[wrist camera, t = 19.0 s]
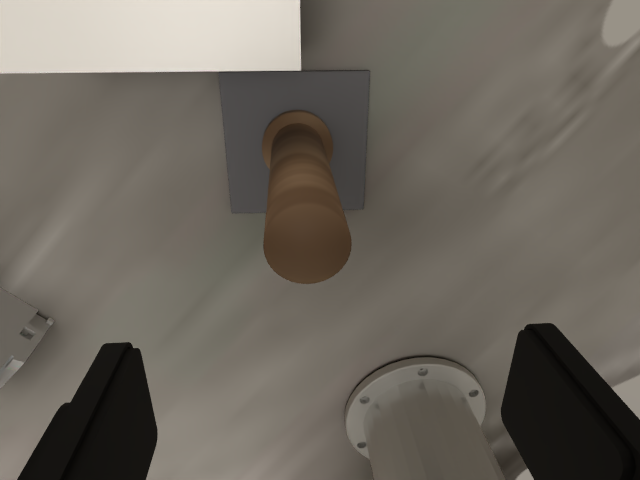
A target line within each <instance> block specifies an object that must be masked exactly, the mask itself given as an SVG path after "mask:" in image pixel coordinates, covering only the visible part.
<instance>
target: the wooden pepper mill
mask: <svg viewBox="0 0 640 480" xmlns="http://www.w3.org/2000/svg"><path fill="white" fill-rule="evenodd" d="M332 154H333V142H332V138H331V135H330V132H329V130H328V128H327V126H326V125H325V123H324V122H323V121H322V120H321V119H320V118H319V117H318V116H316V115H315V114H313V113H311V112H308V111H304V110H290V111H286V112H283V113H281V114H279V115H278V116H276V117H275V118H274V119H273V120H272V121H271V122H270V123H269V124H268V126H267V128H266V130H265V132H264V136H263V141H262V155H263V158H264V161H265V163H266V165H267V167H268V168H269V169H270V173H269V185H268V197H267V209H266V220H265V232H264V254H265V257H266V260H267V262H268V264H269V265H270V267H271V268H272V269H273V270H274V271H275V272H276V273H277V274H278V275H280V276H281V277H283V278H285V279H287V280H289V281H292V282H295V283H301V284H311V283H317V282H321V281H324V280H326V279H329V278H330V277H332V276H334V275H335V274H336V273H338V272H339V271H340V270H341V269H342V268H343V266H344V265H345V263H346V262H347V260H348V258H349V255H350V252H351V236H350V232H349V229H348V225H347V222H346V219H345V215H344V212H343V209H342V205H341V202H340V199H339V195H338V192H337V188H336V185H335V182H334V178H333V175H332V172H331V168H330V165H329V163H330V161H331V158H332Z"/></svg>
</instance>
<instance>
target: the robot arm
mask: <svg viewBox="0 0 640 480" xmlns="http://www.w3.org/2000/svg"><path fill="white" fill-rule="evenodd" d="M485 413H486V400H485V395H484V393H483V391H482V388H481V386H480V384H479V383H478V381H477V380H476V378H475V377H474V375H473V374H471V373H470V372H469V371H468V370H467V369H466V368H464V367H462V366H461V365H459V364H457V363H455V362H451V361H448V360H445V359H439V358H432V357H424V358H412V359H406V360H402V361H398V362H395V363H392V364H389V365H387V366H385V367H383V368H381V369H379V370H377V371H376V372H374V373H373V374H371V375H370V376H368V377H367V378H366V379H365V380H364V381H363V382H362V383H360V384H359V385H358V386H357V388H356V389H355V390H354V392H353V393H352V395H351V396H350V398H349V401H348V403H347V405H346V410H345V416H344V417H345V427H346V432H347V436H348V439H349V440H350V442H351V444H352V446H353V447H354V448H355V449H356V450H357V451H358V452H359V453H360V454H361V455H363V456H364V457H366V458H367V459H370V463H371V468H372V473H373V478H374V480H506V479H505V476H504V474H503V472H502V470H501V468H500V466H499V464H498V462H497V460H496V458H495V456H494V454H493V452H492V450H491V448H490V446H489V444H488V441H487V439H486V437H485V435H484V433H483V431H482V429H481V427H480V426H481V425H482V422H483V420H484V417H485ZM501 417H502V421H503V423H504V426H505V427H506V429H507V431H508V433H509V435H510V436H511V438H512V440H513V442H514V444H515V446H516V447H517V449H518V451H519V453H520V455H521V456H522V458H523V460H524V462H525V464H526V466H527V467H528V469H529V471H530V473H531V474H532V476H533V478H534V480H640V420H639V418H638V417H637V416H636V415H635V414H634V413H633V412H632V411H631V410H630V408H628V406H627V405H626V404H625V403H624V402H623V401H622V400H621V398H620V397H619V396H618V395H617V394H616V393H615V392H614V391H613V390H612V388H611V387H610V386H609V385H608V384H607V383H606V382H605V381H604V379H603V378H602V377H601V376H600V375H599V374H598V373H597V372H596V371H595V369H594V368H593V367H592V366H591V365H590V364H589V363H588V362H587V361H586V359H585V358H584V357H583V356H582V355H581V354H580V353H579V352H578V351H577V349H576V348H575V347H574V346H573V345H572V344H571V343H570V342H569V340H568V339H567V338H566V337H565V336H564V335H563V334H562V333H561V332H560V330H559V329H558V328H557V327H556V326H555V325H554V324H551V323H542V324H528V325H526V327H525V329H524V330H521V331H520V332H519V334H518V337H517V341H516V346H515V350H514V354H513V359H512V363H511V367H510V372H509V376H508V381H507V385H506V389H505V394H504V398H503V402H502V407H501ZM156 443H157V426H156V421H155V416H154V412H153V407H152V402H151V398H150V393H149V388H148V384H147V379H146V374H145V370H144V365H143V360H142V356H141V352H140V349H139V348H133V346H132V344H131V343H129V342H126V343H106V344H104V345H103V346H102V347H101V349H100V351H99V352H98V354H97V356H96V358H95V360H94V361H93V363H92V365H91V367H90V369H89V370H88V372H87V374H86V376H85V377H84V379H83V381H82V383H81V385H80V386H79V388H78V390H77V392H76V393H75V395H74V397H73V399H72V401H71V402H70V403H65V404H63V405H62V406H61V407H60V408H59V409H58V411H57V412H56V414H55V415H54V417H53V419H52V421H51V422H50V424H49V426H48V428H47V429H46V431H45V433H44V434H43V436H42V438H41V440H40V441H39V443H38V445H37V446H36V448H35V450H34V452H33V453H32V455H31V457H30V458H29V460H28V462H27V464H26V465H25V467H24V469H23V470H22V472H21V474H20V476H19V477H18V479H17V480H146V477H147V474H148V470H149V467H150V464H151V460H152V457H153V454H154V450H155V447H156Z"/></svg>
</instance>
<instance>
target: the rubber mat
mask: <svg viewBox="0 0 640 480" xmlns="http://www.w3.org/2000/svg"><path fill="white" fill-rule="evenodd" d="M218 74H219V84H220V95H221V106H222V116H223V127H224V137H225V148H226V159H227V169H228V180H229V191H230V201H231V212H232V213H262V212H266V209H267V197H268V185H269V173H270V169H269V168H268V167H267V165H266V163H265V161H264V158H263V155H262V141H263V136H264V132H265V130H266V128H267V126H268V124H269V123H270V122H271V121H272V120H273V119H274V118H275V117H276V116H278V115H279V114H281V113H283V112H286V111H290V110H304V111H308V112H311V113H313V114H315V115H316V116H318V117H319V118H320V119H321V120H322V121H323V122H324V123H325V125H326V126H327V128H328V130H329V132H330V135H331V138H332V142H333V154H332V158H331V161H330V163H329V165H330V168H331V172H332V175H333V178H334V182H335V185H336V188H337V192H338V195H339V199H340V202H341V205H342V209H343V210H358V209H363V208H364V187H365V166H366V144H367V123H368V102H369V81H370V71H369V70H329V71H219V72H218Z"/></svg>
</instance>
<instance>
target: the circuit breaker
mask: <svg viewBox="0 0 640 480" xmlns="http://www.w3.org/2000/svg"><path fill="white" fill-rule="evenodd" d="M38 311H39V310H37V309H35V308H34V307H32V306H30V305H29V304H27V303H25V302H24V301H22V300H20V299H19V298H17V297H15V296H14V295H12V294H10V293H9V292H7V291H5V290H4V289H2V288H0V389H1V388H2V386H3V385H4V384H5V383H6V382H7V381H8V380H9V379H10V378H11V377H12V376H13V375H14V373H15V372H16V371H17V370H18V369H19V368H20V367H21V366H22V365H23V364H24V363H25V361H26V360H27V359H28V357H29V356H30V354H31V353H32V352H33V350H34V349H35V347H36V346H37V345H38V343H39V342H40V341H41V339H42V338H43V336H44V335H45V334H46V331H47V330H48V329H49V327H50V326H51V325H52V324H53V323H54V321H55V320H54V319H52V318H51V317H49V319H48V320H46V319H44V318H42V317H41V316H39V315H37V314H36V313H37V312H38Z"/></svg>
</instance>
